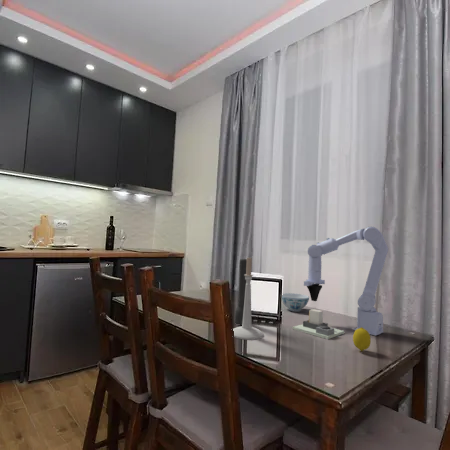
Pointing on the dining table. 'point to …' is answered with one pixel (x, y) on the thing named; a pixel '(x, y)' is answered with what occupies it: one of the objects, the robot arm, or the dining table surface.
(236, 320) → the flashlight
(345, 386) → the dining table surface
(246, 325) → the candlestick
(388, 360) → the dining table surface
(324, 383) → the dining table surface
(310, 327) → the board
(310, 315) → the plug
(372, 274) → the robot arm
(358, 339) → the lemon
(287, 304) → the chinaware
